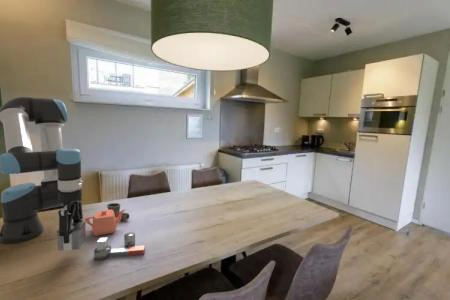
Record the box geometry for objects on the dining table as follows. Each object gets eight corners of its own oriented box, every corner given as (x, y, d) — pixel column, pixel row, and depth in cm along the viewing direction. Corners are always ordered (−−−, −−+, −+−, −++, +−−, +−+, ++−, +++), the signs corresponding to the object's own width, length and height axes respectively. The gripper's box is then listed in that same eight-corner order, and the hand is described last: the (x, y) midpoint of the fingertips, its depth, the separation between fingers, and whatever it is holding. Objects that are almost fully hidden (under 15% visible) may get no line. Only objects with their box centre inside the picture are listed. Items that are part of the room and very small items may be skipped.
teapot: (86, 228, 112) (85, 208, 110) (125, 222, 120) (125, 203, 119) (84, 239, 102) (83, 218, 100) (127, 232, 110) (126, 211, 109)
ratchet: (91, 261, 87) (91, 244, 86) (97, 252, 93) (96, 236, 92) (143, 256, 91) (143, 240, 90) (145, 248, 97) (145, 233, 96)
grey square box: (58, 250, 85) (57, 230, 84) (67, 240, 92) (66, 222, 91) (78, 249, 86) (77, 230, 85) (85, 239, 93) (85, 221, 92)
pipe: (124, 223, 119) (124, 208, 118) (104, 219, 122) (103, 205, 121) (131, 218, 125) (131, 204, 124) (111, 215, 128) (111, 202, 127)
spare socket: (123, 248, 96) (123, 237, 95) (125, 243, 100) (125, 232, 100) (134, 247, 97) (134, 237, 96) (136, 242, 101) (135, 232, 101)
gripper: (68, 198, 77) (71, 259, 80) (90, 181, 96) (92, 230, 99) (43, 198, 75) (47, 260, 79) (71, 181, 94) (73, 231, 98)
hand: (72, 243), depth 89 cm, fingers closed on grey square box, 7 cm apart
